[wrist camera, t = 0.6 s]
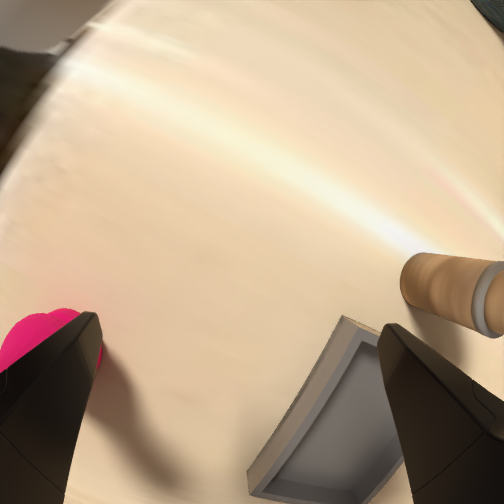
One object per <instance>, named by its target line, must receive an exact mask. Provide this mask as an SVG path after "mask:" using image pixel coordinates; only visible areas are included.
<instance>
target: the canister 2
mask: <svg viewBox="0 0 504 504" xmlns="http://www.w3.org/2000/svg"><path fill="white" fill-rule="evenodd" d="M471 1H472V2H473V3H474V4H475V6H476V7H477V8H478V9H479V10H480V12H481V13H482V14H483V15H484V16H485V17H486V18H487V19H488V20H489V21H490V22H491V23H493V24H494V25H495V26H496V27H497V28H499V29H500V30H501V31H503V32H504V0H471Z"/></svg>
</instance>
